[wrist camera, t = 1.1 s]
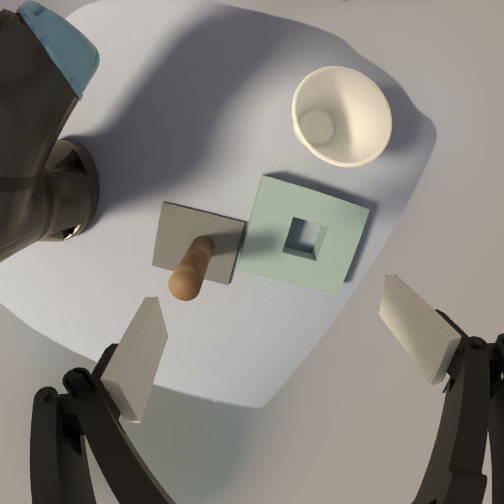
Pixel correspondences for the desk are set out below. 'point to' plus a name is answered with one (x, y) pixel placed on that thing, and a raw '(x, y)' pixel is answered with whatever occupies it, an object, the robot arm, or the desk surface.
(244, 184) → the desk surface
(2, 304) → the desk surface
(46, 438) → the robot arm
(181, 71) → the desk surface
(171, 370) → the desk surface
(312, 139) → the cup
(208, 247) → the peg
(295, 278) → the socket block
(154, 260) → the mat
